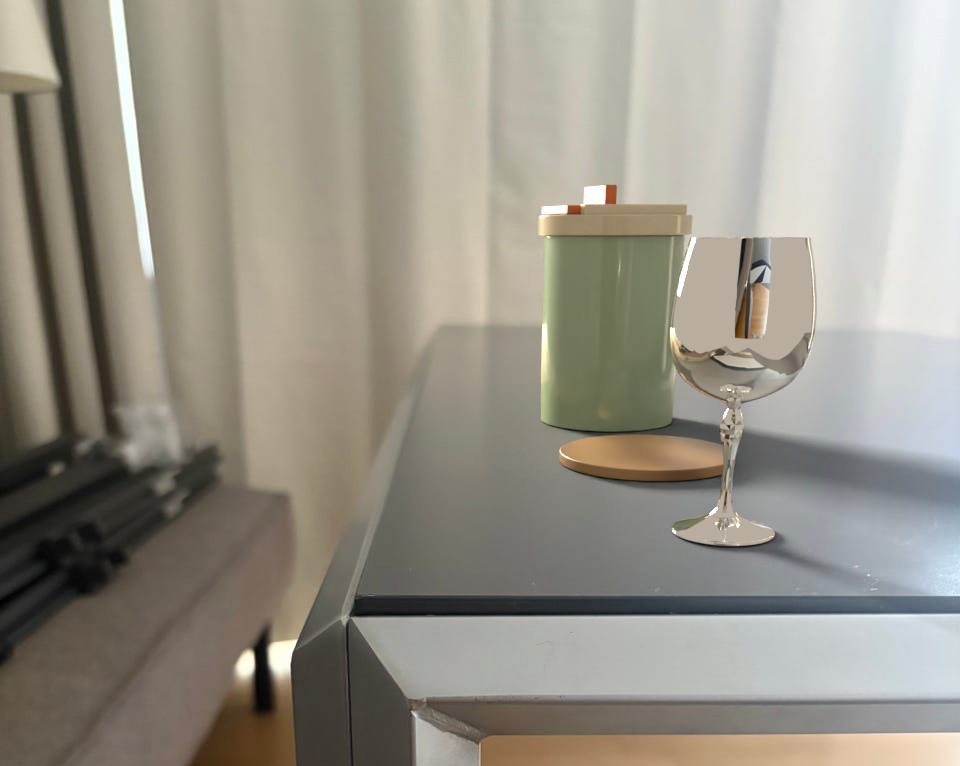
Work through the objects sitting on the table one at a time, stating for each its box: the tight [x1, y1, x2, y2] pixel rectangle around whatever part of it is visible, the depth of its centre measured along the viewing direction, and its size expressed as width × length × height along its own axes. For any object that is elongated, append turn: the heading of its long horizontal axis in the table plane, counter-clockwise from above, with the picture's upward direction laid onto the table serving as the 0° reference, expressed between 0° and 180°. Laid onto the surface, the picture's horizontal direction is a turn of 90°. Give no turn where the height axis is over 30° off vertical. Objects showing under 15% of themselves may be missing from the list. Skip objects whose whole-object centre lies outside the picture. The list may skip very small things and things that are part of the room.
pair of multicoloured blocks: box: [541, 184, 618, 215], centre depth 64 cm, size 4×4×2 cm
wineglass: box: [669, 236, 818, 547], centre depth 41 cm, size 6×6×12 cm
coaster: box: [558, 434, 737, 482], centre depth 57 cm, size 10×10×1 cm
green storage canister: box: [537, 203, 694, 433], centre depth 67 cm, size 10×10×14 cm
